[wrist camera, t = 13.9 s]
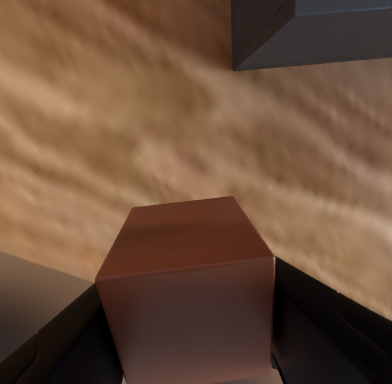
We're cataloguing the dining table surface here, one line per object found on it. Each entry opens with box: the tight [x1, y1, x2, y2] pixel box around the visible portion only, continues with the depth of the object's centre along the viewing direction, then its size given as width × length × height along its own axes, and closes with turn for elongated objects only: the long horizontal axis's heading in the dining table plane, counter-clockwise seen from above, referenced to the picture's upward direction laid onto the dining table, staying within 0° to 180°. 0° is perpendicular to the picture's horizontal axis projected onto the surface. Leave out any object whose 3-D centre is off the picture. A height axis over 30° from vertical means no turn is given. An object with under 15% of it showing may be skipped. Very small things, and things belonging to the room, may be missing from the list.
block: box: [95, 196, 275, 384], centre depth 7 cm, size 4×4×4 cm
